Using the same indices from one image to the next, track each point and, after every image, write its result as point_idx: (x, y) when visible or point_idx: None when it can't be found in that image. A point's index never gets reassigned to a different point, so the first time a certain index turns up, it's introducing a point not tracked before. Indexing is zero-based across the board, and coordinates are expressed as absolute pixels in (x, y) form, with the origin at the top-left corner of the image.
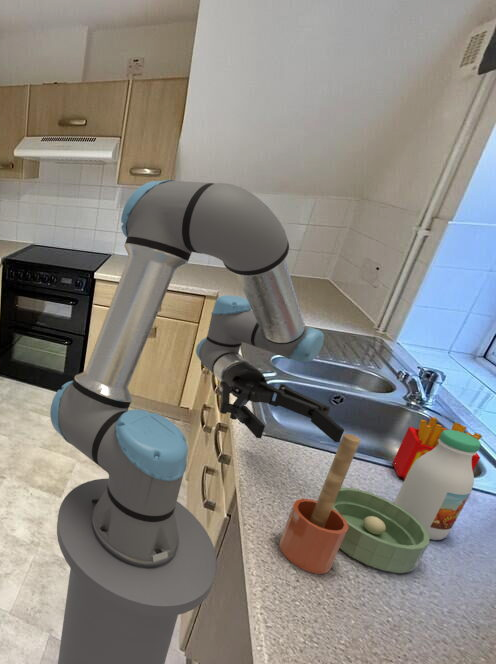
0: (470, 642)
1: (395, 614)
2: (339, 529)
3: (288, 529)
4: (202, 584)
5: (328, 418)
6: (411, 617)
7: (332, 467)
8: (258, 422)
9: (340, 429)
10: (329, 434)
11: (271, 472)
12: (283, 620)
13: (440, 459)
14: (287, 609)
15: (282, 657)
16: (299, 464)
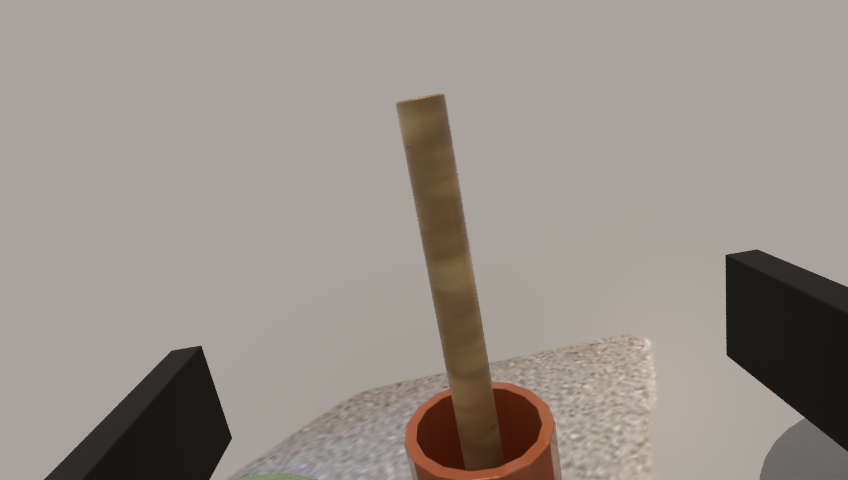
0: (293, 447)
1: (382, 461)
2: (426, 446)
3: None
4: (784, 460)
5: (99, 438)
6: (355, 463)
7: (466, 232)
8: (780, 264)
9: (195, 347)
10: (202, 464)
11: None
12: (610, 402)
13: None
14: (598, 420)
15: (624, 361)
16: None
